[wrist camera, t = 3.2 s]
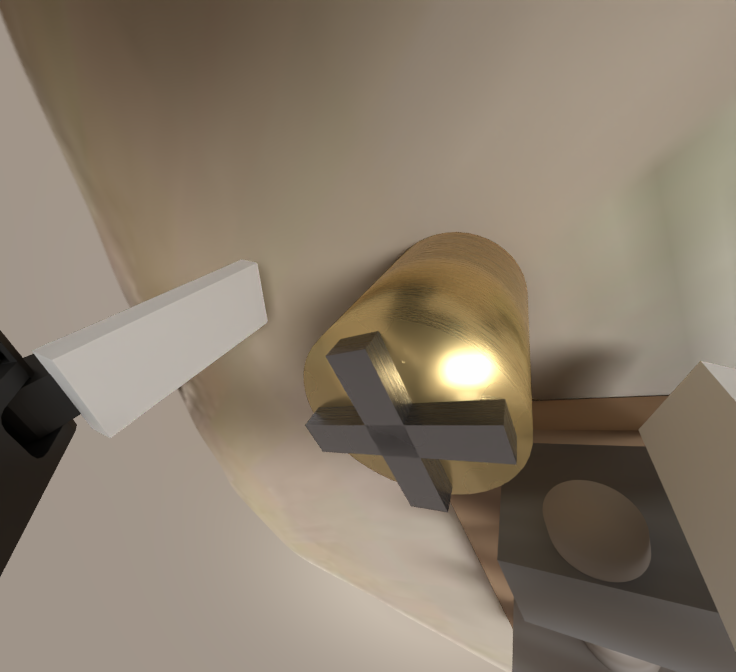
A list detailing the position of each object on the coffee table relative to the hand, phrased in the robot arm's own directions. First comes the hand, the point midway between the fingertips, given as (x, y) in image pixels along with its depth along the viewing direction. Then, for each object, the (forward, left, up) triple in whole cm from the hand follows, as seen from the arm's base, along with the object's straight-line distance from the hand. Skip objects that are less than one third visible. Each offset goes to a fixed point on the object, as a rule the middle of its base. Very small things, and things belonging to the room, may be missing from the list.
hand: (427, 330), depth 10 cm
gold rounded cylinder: (0, +1, -1) cm, 2 cm away
